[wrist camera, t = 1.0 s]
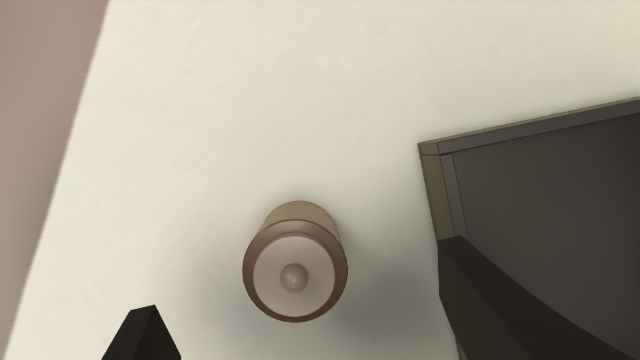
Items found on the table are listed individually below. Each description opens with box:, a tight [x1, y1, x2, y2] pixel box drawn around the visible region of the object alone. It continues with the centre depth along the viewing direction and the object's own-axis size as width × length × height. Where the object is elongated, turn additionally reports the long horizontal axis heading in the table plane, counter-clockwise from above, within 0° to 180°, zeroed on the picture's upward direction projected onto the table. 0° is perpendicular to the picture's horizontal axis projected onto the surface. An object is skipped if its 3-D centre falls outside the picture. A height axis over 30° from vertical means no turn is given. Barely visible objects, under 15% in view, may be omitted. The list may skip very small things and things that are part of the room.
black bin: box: [418, 96, 640, 360], centre depth 24 cm, size 14×12×4 cm
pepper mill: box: [242, 201, 348, 323], centre depth 22 cm, size 4×4×8 cm
